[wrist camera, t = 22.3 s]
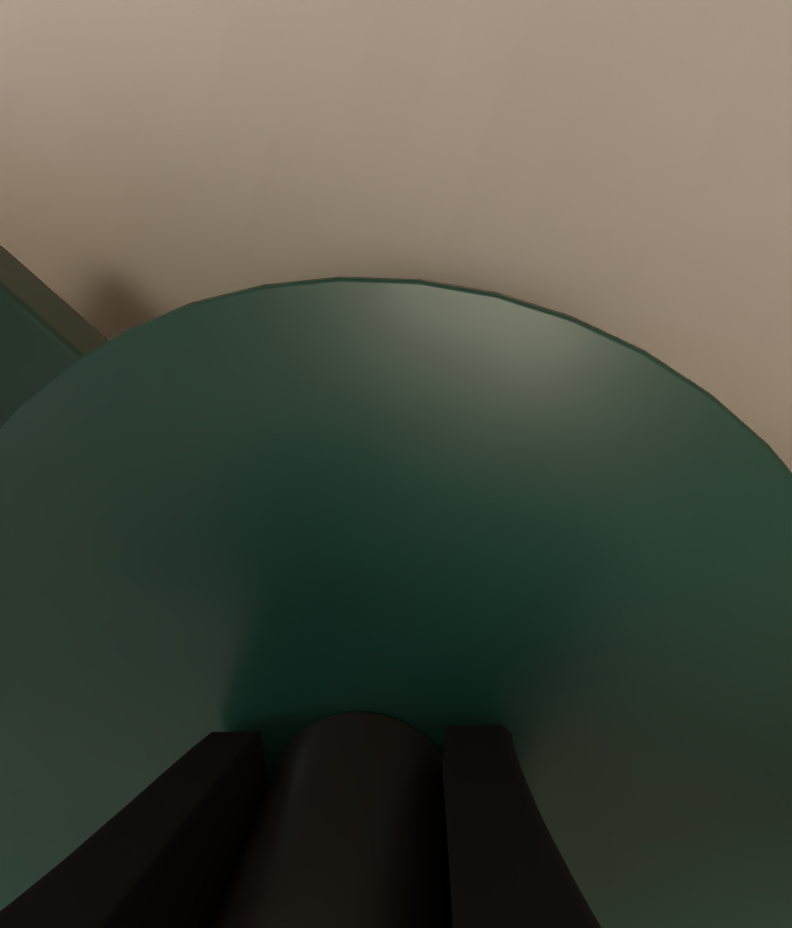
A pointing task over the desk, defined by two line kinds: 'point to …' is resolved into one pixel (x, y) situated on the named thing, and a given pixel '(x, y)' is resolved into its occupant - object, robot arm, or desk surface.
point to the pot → (35, 334)
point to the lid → (401, 600)
